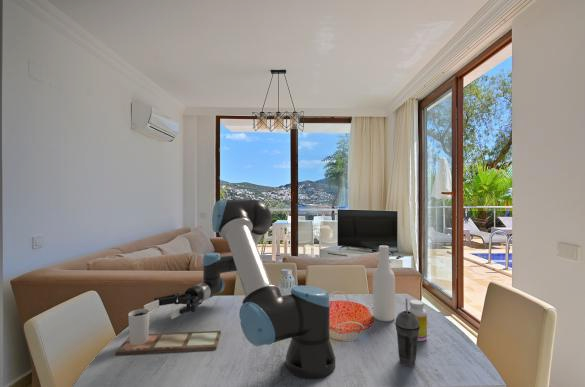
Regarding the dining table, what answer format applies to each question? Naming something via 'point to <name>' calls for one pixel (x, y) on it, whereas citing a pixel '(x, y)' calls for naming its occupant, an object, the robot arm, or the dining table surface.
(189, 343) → the tile board
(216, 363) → the dining table surface
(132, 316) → the white coffee cup
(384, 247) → the white bottle
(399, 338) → the beverage cup
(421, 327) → the supplement bottle
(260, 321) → the robot arm
